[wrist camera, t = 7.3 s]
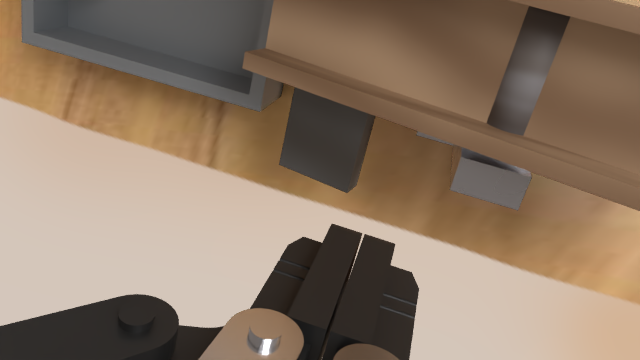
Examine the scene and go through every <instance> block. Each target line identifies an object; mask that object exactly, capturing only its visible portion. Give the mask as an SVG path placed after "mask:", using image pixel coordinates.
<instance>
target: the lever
mask: <svg viewBox="0 0 640 360" xmlns="http://www.w3.org/2000/svg"><path fill="white" fill-rule="evenodd" d="M242 68H243V69H246V70H249V71H251V72H254V73H257V74H260V75H263V76H265V77H268V78H271V79H274V80H276V81H279V82H282V83H285V84H288V85H290V86H293V87H295V89H294V94H293V98H292V103H291V108H290V113H289V118H288V123H287V128H286V133H285V138H284V143H283V148H282V153H281V158H280V163H279V165H281V166H284V167H286V168H288V169H291V170H293V171H296V172H298V173H300V174H303V175H305V176H308V177H310V178H312V179H315V180H317V181H320V182H322V183H324V184H327V185H329V186H332V187H334V188H336V189H339V190H341V191H344V192H346V193H348V192H349V191H350V190H352V189H353V188H354V187H355V186H356V185H357V182H358V178H359V174H360V171H361V167H362V163H363V159H364V156H365V152H366V148H367V145H368V141H369V137H370V134H371V130H372V126H373V123H374V119H375V116H377V117H379V118H382V119H385V120H388V121H391V122H393V123H396V124H399V125H402V126H405V127H407V128H410V129H413V130H416V131H418V132H421V133H424V134H427V135H430V136H432V137H435V138H438V139H441V140H443V141H446V142H449V143H452V144H455V145H457V146H460V147H463V148H466V149H469V150H471V151H474V152H477V153H480V154H482V155H485V156H488V157H491V158H494V159H496V160H499V161H502V162H505V163H508V164H510V165H513V166H516V167H519V168H521V169H524V170H527V171H530V172H533V173H535V174H538V175H541V176H544V177H547V178H549V179H552V180H555V181H558V182H560V183H563V184H566V185H569V186H572V187H574V188H577V189H580V190H583V191H585V192H588V193H591V194H594V195H597V196H599V197H602V198H605V199H608V200H611V201H613V202H616V203H619V204H622V205H624V206H627V207H630V208H633V209H636V210H638V211H640V7H638V6H634V5H629V4H625V3H621V2H617V1H613V0H274V2H273V7H272V13H271V19H270V25H269V30H268V36H267V42H266V47H265V48H264V49H258V50H252V51H245V55H244V61H243V67H242Z"/></svg>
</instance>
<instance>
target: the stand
mask: <svg viewBox="0 0 640 360" xmlns="http://www.w3.org/2000/svg"><path fill="white" fill-rule="evenodd" d="M416 135H417V136H421V137H424V138H428V139H431V140H435V141H438V142H442V143H445V144H449V145H452V146H453V148H452V163H451V177H450V190H451V191H455V192H458V193H461V194H465V195H468V196H471V197H475V198H478V199H481V200H485V201H488V202H491V203H495V204H498V205H501V206H505V207H508V208H511V209H515V210H518V209H519V207H520V204H521V202H522V200H523V197H524V195H525V192H526V190H527V188H528V185H529V183H530V180H531V178H532V177H531V173H530V171H527V170H524V169H521V168H519V167H516V166H513V165H510V164H508V163H505V162H502V161H499V160H496V159H494V158H491V157H488V156H485V155H482V154H480V153H477V152H474V151H471V150H469V149H466V148H463V147H460V146H457V145H455V144H452V143H449V142H446V141H443V140H441V139H438V138H435V137H432V136H430V135H427V134H424V133H421V132H418V131H417V134H416Z"/></svg>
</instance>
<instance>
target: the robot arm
mask: <svg viewBox="0 0 640 360" xmlns="http://www.w3.org/2000/svg"><path fill="white" fill-rule="evenodd" d="M361 236H362V233H360V232H356V231H353V230H350V229H347V228H344V227H341V226H338V225H335V224H332V225H331V226H330V228H329V230H328V233H327V235H326V237H325V239H324V241H323V243H321V242H318V241H315V240H312V239H309V238H306V237H302V238H301V239H298V240H297V241H295V242H293V243H291V244H289V245H288V246H287V248H286V249H285V251H284V253H283V254H282V256H281V258H280V261H278V263H277V265H276V266H275V268H274V270H273V272H272V273H271V275H270V276H269V278H268V280H267V281H266V283H265V285H264V286H263V288H262V290H261V291H260V293H259V295H258V296H257V298H256V300H255V301H254V303H253V305H252V306H251V308H250V309H247V310H244V311H241V312H239V313H237V314H235V315H234V316H233V317H232V318H231V319H230V320H229V321H228V322H227V323H226V325H225V326H223V327H217V328H200V327H191V326H180V325H179V319H178V315H177V314H176V311H175V310H174V309H173V308H172V306H170V305H169V304H168V303H166V302H165V301H163V300H161V299H159V298H156V297H153V296H148V295H138V294H137V295H136V294H135V295H125V296H120V297H116V298H112V299H108V300H105V301H100V302H96V303H92V304H88V305H84V306H80V307H76V308H72V309H68V310H64V311H60V312H56V313H52V314H48V315H44V316H40V317H36V318H32V319H28V320H23V321H19V322H15V323H11V324H8V325H4V326H0V360H409V356H410V349H411V341H412V335H413V328H414V318H415V313H416V305H417V299H418V292H419V288H418V285H417V283H416V281H415V279H414V277H413V274H412V272H409V271H406V270H403V269H399V268H397V267H394V266H391V265H390V264H391V260H392V256H393V252H394V247H395V244H394V243H391V242H388V241H384V240H381V239H378V238H375V237H372V236H369V235H366V234H365V235H364V238H363V241H362V243H361V246H360V249H359V252H358V255H357V258H356V260H355V256H356V253H357V250H358V246H359V243H360V239H361ZM354 260H355V263H354ZM353 263H354V266H353ZM352 266H353V269H352ZM351 269H352V272H351ZM350 273H351V274H350ZM349 276H350V277H349ZM348 279H349V280H348ZM322 357H323V358H322Z"/></svg>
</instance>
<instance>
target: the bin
mask: <svg viewBox="0 0 640 360" xmlns="http://www.w3.org/2000/svg"><path fill="white" fill-rule="evenodd" d="M273 2H274V0H21V4H22V42H23V43H27V44H30V45H33V46H37V47H40V48H44V49H47V50H51V51H54V52H57V53H61V54H64V55H68V56H71V57H74V58H78V59H81V60H85V61H88V62H92V63H95V64H98V65H102V66H105V67H109V68H112V69H115V70H119V71H122V72H126V73H129V74H132V75H136V76H139V77H143V78H146V79H150V80H153V81H156V82H160V83H163V84H167V85H170V86H173V87H177V88H180V89H184V90H187V91H191V92H194V93H197V94H201V95H204V96H208V97H211V98H214V99H218V100H221V101H225V102H228V103H231V104H235V105H238V106H242V107H245V108H249V109H252V110H255V111H259V112H260V111H262V110H263V109H264V108H266V107H267V106H268V105H270V104H271V103H272V102H274V101H275V100H276V99H278V98H279V97H280V96H281V94H282V88H283V83H282V82H279V81H276V80H274V79H271V78H268V77H265V76H263V75H260V74H257V73H254V72H251V71H249V70H246V69H243V68H242V67H243V61H244V55H245V51H252V50H258V49H264V48H265V47H266V42H267V36H268V30H269V25H270V19H271V13H272V7H273Z"/></svg>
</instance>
